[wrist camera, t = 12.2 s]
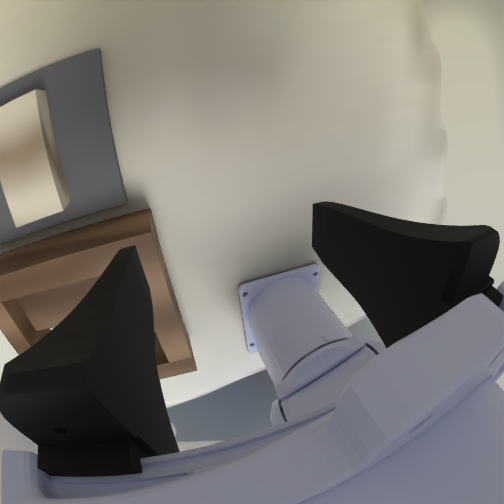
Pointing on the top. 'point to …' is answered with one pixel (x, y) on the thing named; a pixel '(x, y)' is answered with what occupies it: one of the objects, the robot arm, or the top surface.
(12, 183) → the birch tile
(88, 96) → the charcoal mat
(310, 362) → the robot arm
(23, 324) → the walnut frame
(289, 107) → the top surface
